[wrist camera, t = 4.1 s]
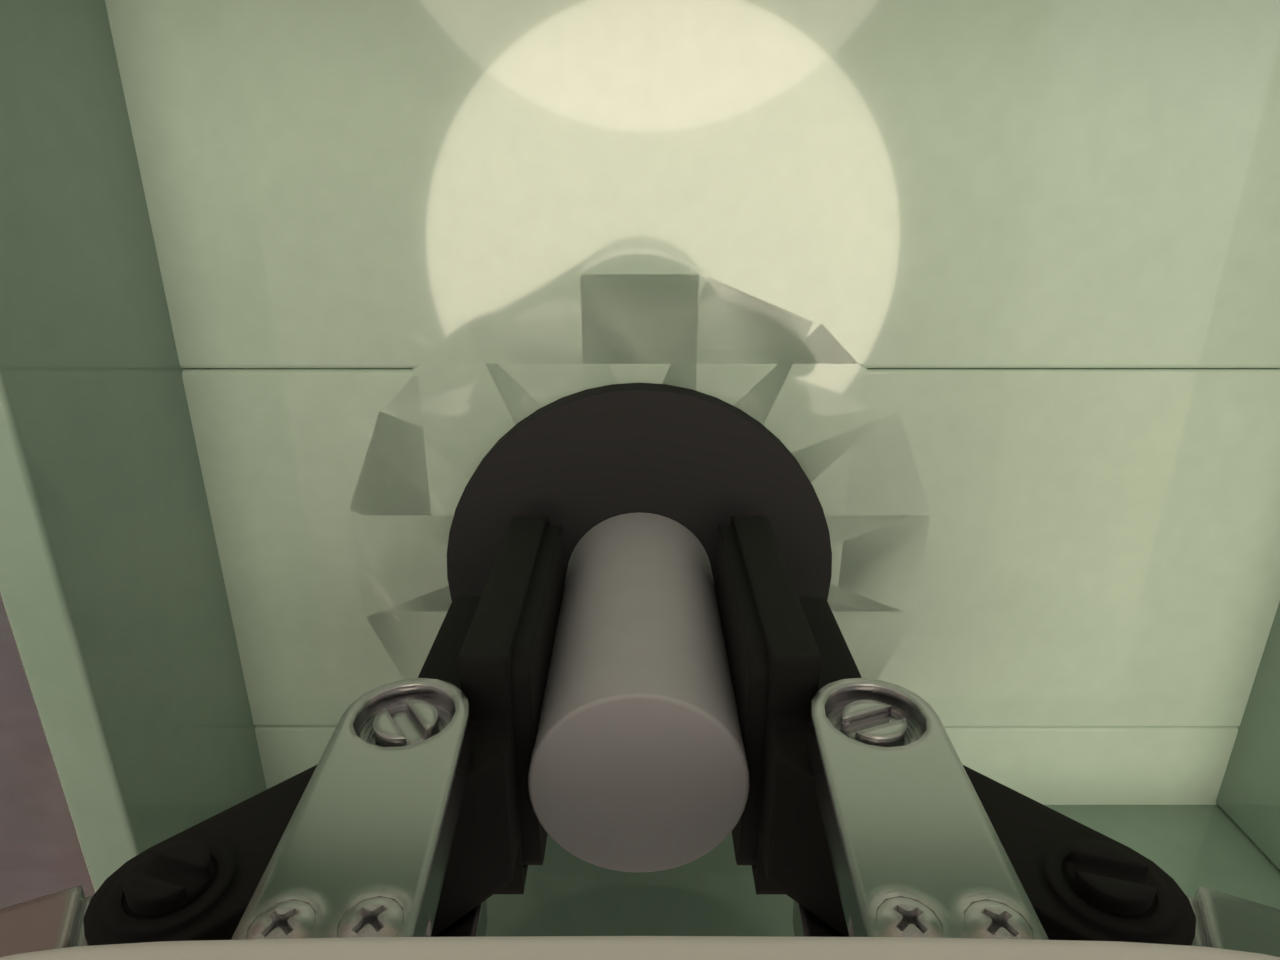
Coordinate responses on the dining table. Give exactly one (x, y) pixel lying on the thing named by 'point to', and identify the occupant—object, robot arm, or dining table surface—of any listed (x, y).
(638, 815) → the plug
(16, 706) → the dining table surface
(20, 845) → the dining table surface
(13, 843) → the dining table surface
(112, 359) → the sink
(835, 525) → the sink floor
